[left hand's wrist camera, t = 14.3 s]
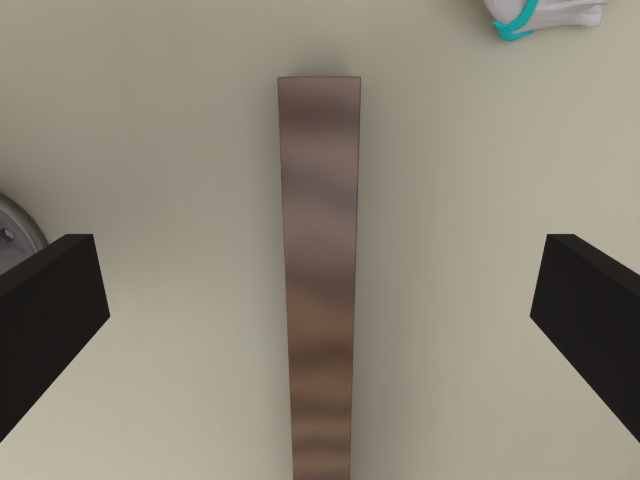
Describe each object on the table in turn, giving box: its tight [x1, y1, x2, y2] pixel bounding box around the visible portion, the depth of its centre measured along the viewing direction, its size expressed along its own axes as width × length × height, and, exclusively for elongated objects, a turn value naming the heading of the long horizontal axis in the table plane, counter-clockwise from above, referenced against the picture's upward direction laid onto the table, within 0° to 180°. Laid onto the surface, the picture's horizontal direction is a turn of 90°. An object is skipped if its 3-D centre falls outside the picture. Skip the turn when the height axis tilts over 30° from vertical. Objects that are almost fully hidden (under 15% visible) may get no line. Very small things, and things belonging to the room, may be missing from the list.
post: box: [278, 76, 361, 480], centre depth 42 cm, size 54×6×8 cm, turn 0°
